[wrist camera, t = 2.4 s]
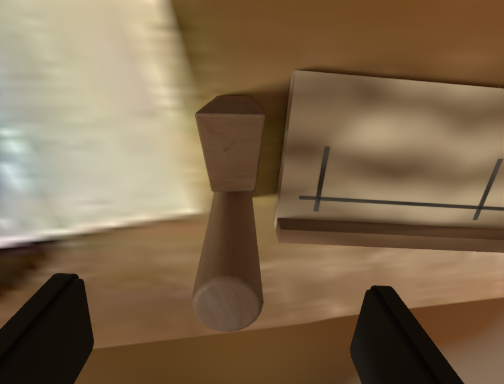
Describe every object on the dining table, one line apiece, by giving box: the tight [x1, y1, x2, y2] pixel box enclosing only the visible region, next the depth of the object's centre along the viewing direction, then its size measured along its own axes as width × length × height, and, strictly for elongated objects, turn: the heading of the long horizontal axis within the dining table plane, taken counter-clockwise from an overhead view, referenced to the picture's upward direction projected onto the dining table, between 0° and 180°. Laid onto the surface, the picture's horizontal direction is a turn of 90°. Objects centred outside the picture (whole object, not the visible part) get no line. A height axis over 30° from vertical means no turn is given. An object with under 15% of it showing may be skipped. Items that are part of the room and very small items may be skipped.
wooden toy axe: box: [191, 96, 266, 332], centre depth 21 cm, size 4×11×18 cm, turn 179°
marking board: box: [274, 70, 504, 253], centre depth 28 cm, size 16×28×4 cm, turn 85°
